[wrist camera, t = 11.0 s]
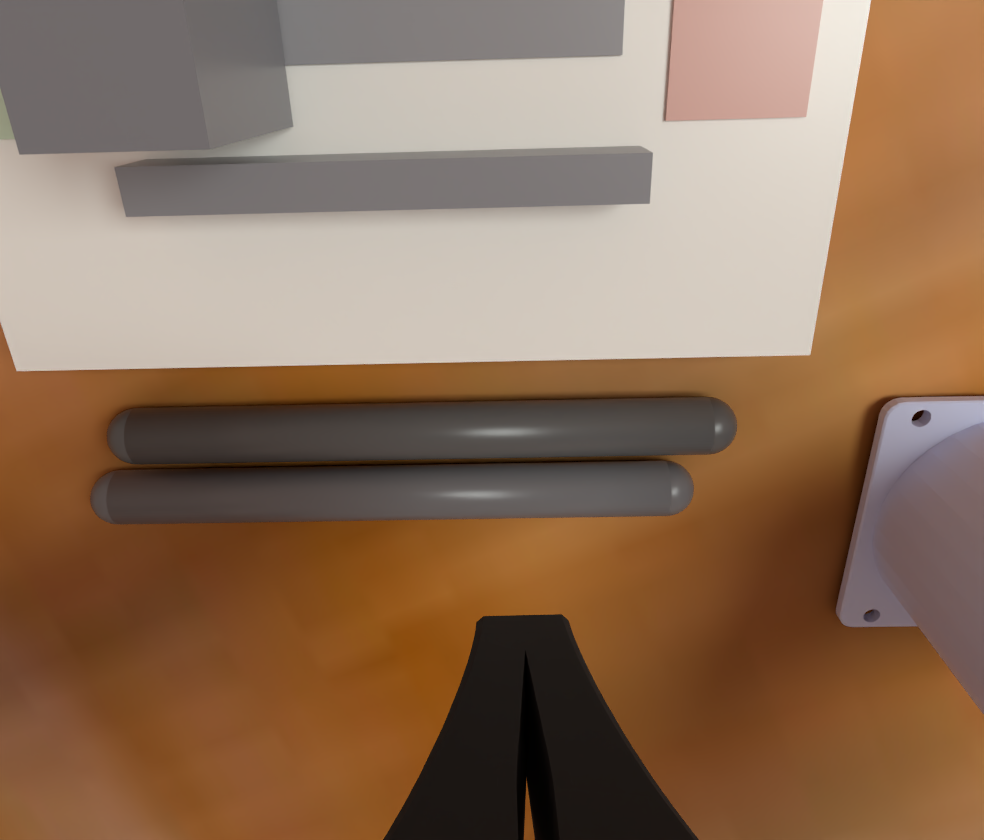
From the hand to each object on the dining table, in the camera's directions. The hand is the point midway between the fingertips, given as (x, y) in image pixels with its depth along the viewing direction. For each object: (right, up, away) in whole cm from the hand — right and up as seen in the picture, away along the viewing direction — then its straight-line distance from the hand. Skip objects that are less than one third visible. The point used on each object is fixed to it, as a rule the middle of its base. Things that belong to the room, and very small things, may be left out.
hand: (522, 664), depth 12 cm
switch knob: (-6, +12, +3) cm, 14 cm away
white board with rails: (-3, +11, +6) cm, 13 cm away
